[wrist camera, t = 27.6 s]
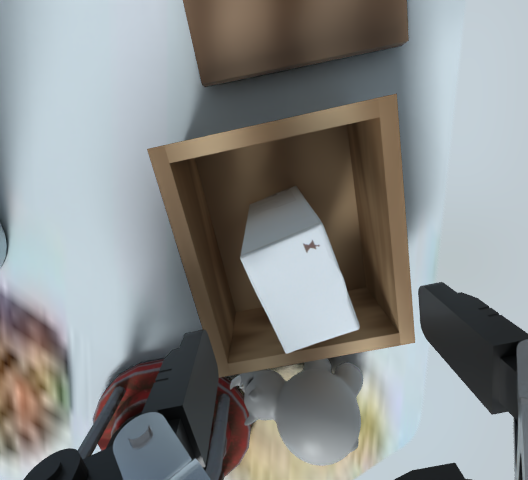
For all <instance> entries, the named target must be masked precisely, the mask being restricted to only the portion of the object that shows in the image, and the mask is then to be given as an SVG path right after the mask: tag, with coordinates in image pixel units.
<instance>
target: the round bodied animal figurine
mask: <svg viewBox="0 0 528 480" xmlns="http://www.w3.org/2000/svg"><path fill="white" fill-rule="evenodd" d="M362 384H363V375H362V372H361V370H360V369H359V368H358V367H357V366H355V365H354V364H352V363H343V364H341V365H339V366H338V367H337V368H336V370H335V374H332V373H331V364H330V362H329V360H328V359H327V358H326V359H321V360H315V361H309V362H305V363H304V370H303V371H302V372H300V373H298V374H296V375H294V376H293V377H292V378H291V379H289V380H288V381H285V380H284V379H283V377H282V376H281V375H280V374H278V373H277V372H275V371H273V370H259V371H253V372H248V373H242V374H240V375H239V376H237V377H235V378H234V379H233V380H232V382H231V384H230V390H231V389H232V388H233V387H234V386H239V388H241V389H242V391H243V392H244V394H245V395H244V403H245V405H246V408H247V410H248V412H249V417H248V418H247V419H246V421H245V422H244V424H245V425H250V424H252V423H253V422H255V421H256V420H258V419H260V420H275V421H276V423H277V427H278V431H279V434H280V436H281V438H282V440H283V442H284V444H285V445H286V446H287V448H288V449H289V450H290V451H291V452H292V453H293V454H294V455H295V456H296V457H298V458H299V459H301V460H303V461H305V462H307V463H310V464H313V465H320V466H321V465H330V464H334V463H336V462H338V461H340V460H342V459H343V458H344V457H346V456H347V455H348V454H349V453H350V452H352V451H354V450H355V449H356V448H357V447H358V436H359V432H360V426H361V417H360V410H359V406H358V403H357V400H356V397H357V395H358V393H359V392H360V390H361V387H362Z"/></svg>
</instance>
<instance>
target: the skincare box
mask: <svg viewBox="0 0 528 480" xmlns="http://www.w3.org/2000/svg"><path fill="white" fill-rule="evenodd" d="M240 259H241V261H242V264H243V266H244V268H245V270H246V272H247V275H248V277H249V279H250V281H251V283H252V286H253V288H254V290H255V292H256V294H257V296H258V298H259V300H260V302H261V304H262V306H263V308H264V310H265V312H266V314H267V316H268V318H269V320H270V322H271V324H272V326H273V328H274V330H275V332H276V334H277V337H278V339H279V341H280V343H281V345H282V347H283V349H284V351H285V353H287V354H288V353H291V352H293V351H296V350H299V349H302V348H305V347H307V346H310V345H313V344H316V343H319V342H322V341H325V340H328V339H331V338H334V337H337V336H340V335H343V334H346V333H349V332H353V331H356V330H358V329H359V328H360V325H359V322H358V319H357V316H356V314H355V311H354V308H353V305H352V303H351V300H350V297H349V294H348V291H347V288H346V284H345V281H344V278H343V275H342V273H341V271H340V268H339V265H338V262H337V260H336V257H335V254H334V252H333V249H332V246H331V244H330V241H329V238H328V236H327V233H326V231H325V228H324V226H323V223H322V222H321V220H320V219H319V217H318V216H317V214H316V213H315V212H314V210H313V209H312V208H311V206H310V205H309V203H308V202H307V201H306V199H305V198H304V196H303V195H302V193H301V192H300V191H299V189H298V188H297V186H293V187H291V188H289V189H286V190H284V191H281V192H279V193H276V194H274V195H271V196H269V197H267V198H264V199H262V200H260V201H257V202H255V203H252V204H250V205H249V211H248V217H247V222H246V228H245V234H244V239H243V245H242V251H241V256H240Z"/></svg>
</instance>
